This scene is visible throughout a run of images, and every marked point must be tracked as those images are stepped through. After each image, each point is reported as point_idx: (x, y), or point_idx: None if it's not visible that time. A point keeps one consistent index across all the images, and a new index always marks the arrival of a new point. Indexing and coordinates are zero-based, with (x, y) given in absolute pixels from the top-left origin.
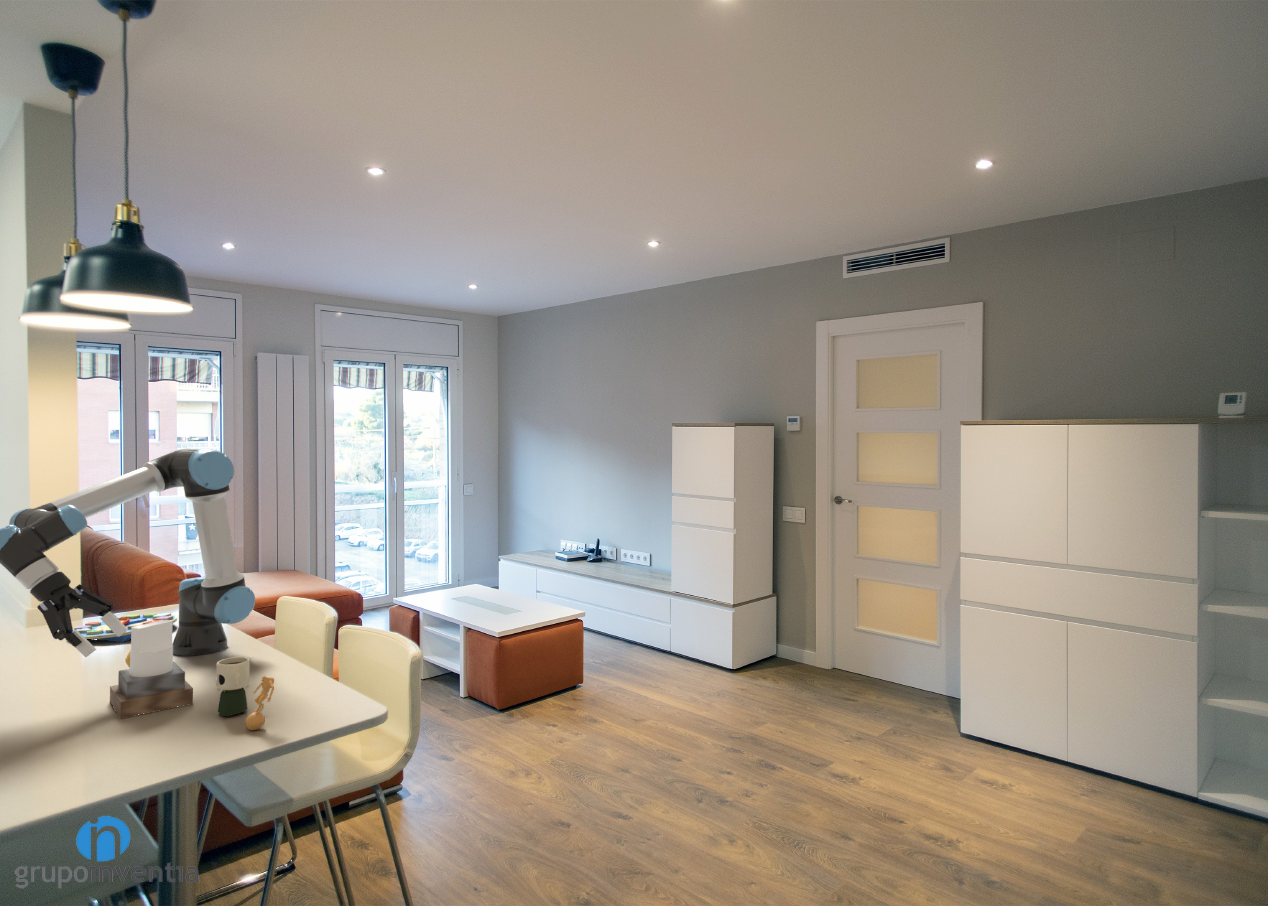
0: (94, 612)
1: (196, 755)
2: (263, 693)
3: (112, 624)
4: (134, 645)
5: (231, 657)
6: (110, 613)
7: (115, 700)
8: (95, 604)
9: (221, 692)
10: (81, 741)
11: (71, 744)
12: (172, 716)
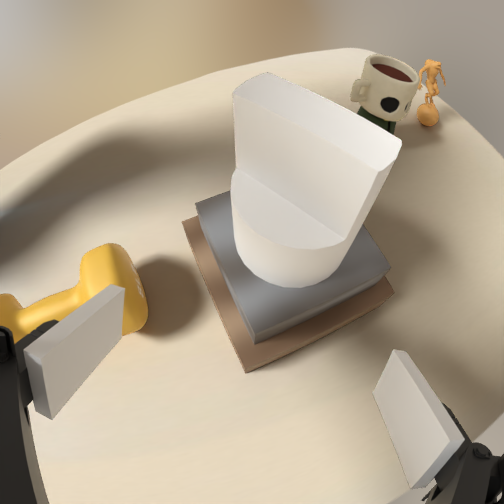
0: (35, 455)
1: (492, 172)
2: (434, 81)
3: (88, 351)
4: (370, 208)
5: (373, 67)
6: (46, 347)
7: (328, 331)
8: (8, 453)
9: (387, 123)
10: (473, 329)
11: (481, 339)
12: (375, 216)
